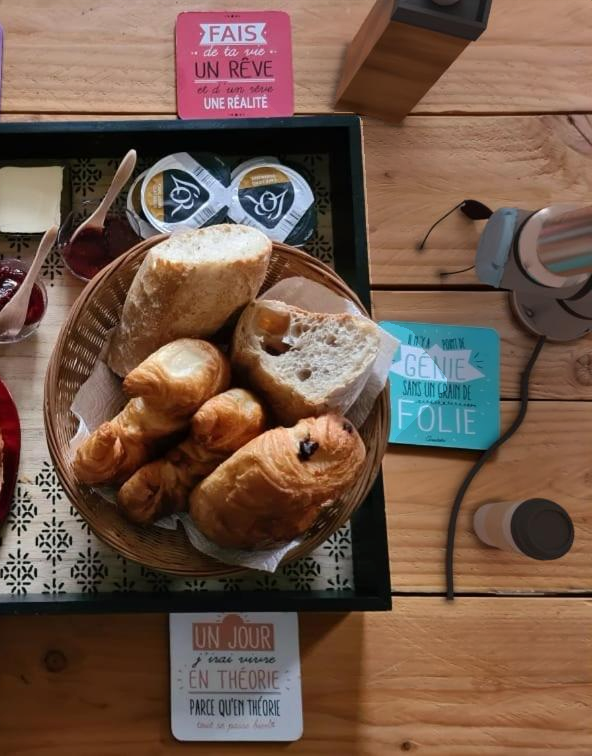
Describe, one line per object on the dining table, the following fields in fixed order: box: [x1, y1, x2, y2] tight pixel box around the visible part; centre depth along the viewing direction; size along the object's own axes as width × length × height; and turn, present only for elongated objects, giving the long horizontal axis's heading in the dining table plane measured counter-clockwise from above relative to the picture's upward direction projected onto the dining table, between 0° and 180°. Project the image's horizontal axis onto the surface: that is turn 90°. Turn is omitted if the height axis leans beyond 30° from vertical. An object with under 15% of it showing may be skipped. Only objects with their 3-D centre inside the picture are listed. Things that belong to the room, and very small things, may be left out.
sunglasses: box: [419, 199, 495, 276], centre depth 125 cm, size 10×12×5 cm
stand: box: [333, 0, 473, 125], centre depth 118 cm, size 12×12×25 cm
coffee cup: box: [472, 497, 575, 562], centre depth 112 cm, size 9×9×15 cm
